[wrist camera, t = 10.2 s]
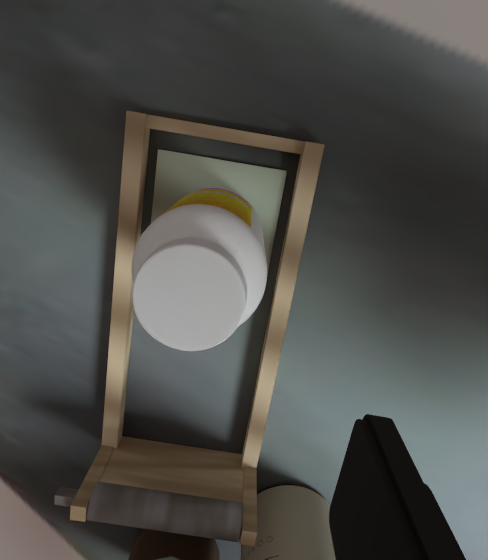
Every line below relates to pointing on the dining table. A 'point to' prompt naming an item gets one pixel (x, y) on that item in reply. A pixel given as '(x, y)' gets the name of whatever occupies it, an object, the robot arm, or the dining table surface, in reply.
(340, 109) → the dining table surface
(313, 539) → the travel mug
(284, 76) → the dining table surface
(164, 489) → the frame
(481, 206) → the dining table surface
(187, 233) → the supplement bottle
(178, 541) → the beer bottle
